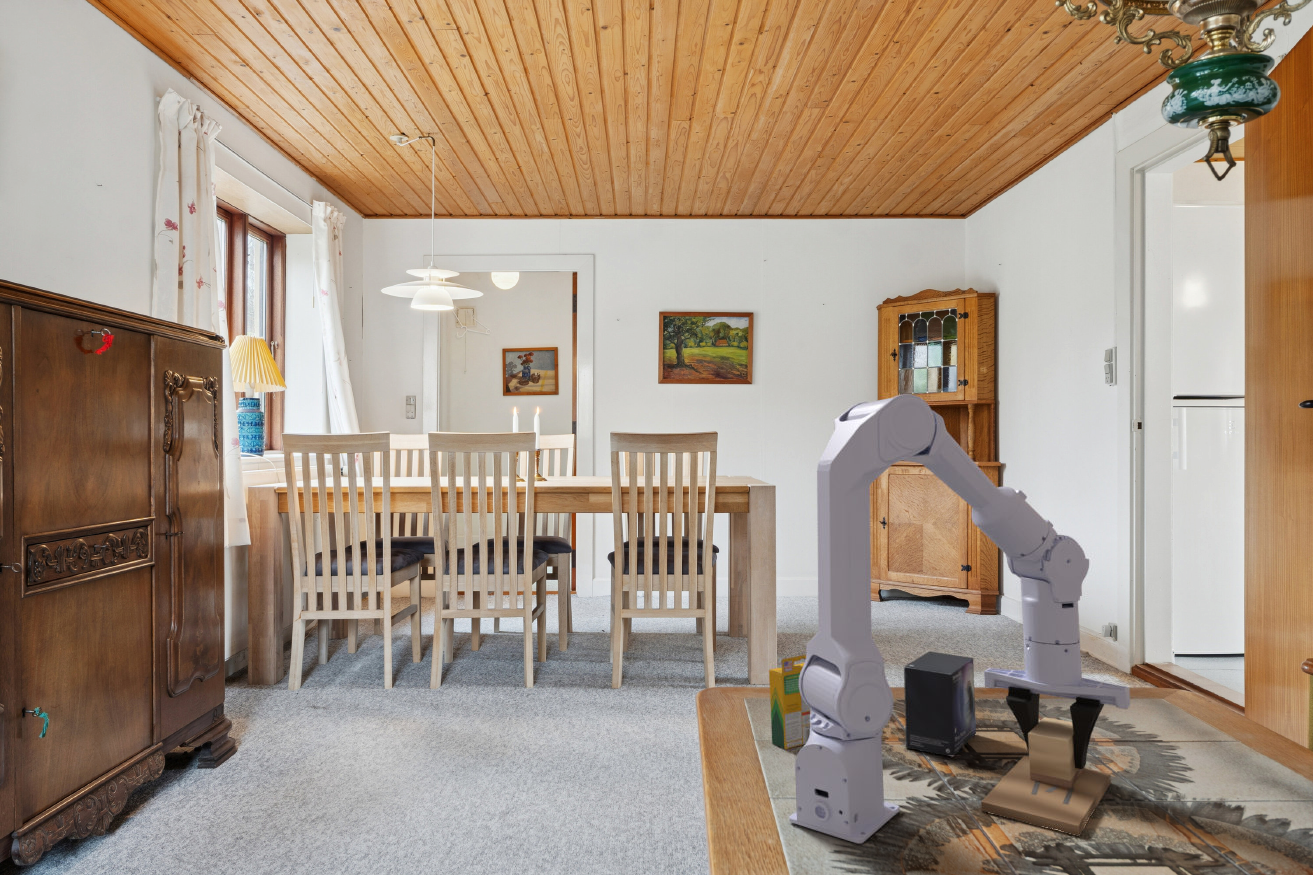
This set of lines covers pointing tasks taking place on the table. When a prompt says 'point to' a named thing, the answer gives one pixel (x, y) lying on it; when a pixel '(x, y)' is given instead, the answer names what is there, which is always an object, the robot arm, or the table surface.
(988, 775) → the table surface
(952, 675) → the small box
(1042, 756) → the block
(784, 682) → the crayon box
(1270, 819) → the table surface
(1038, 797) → the board
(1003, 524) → the robot arm
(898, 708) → the table surface
